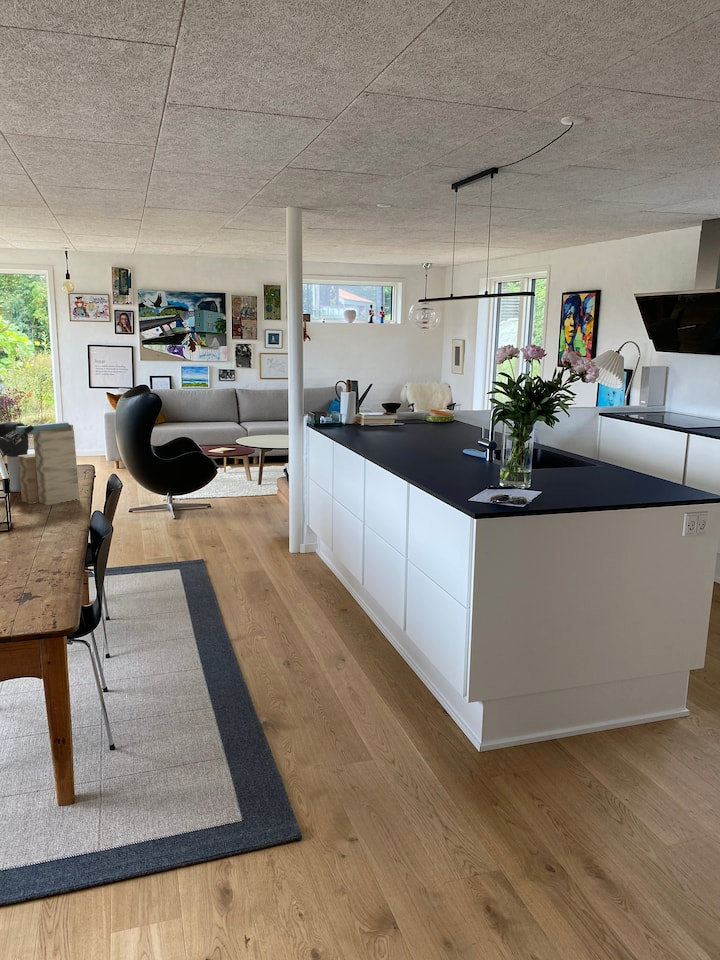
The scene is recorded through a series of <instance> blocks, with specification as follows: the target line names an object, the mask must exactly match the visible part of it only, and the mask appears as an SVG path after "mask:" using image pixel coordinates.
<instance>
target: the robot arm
mask: <svg viewBox="0 0 720 960" xmlns="http://www.w3.org/2000/svg"><path fill="white" fill-rule="evenodd" d="M31 425H32V424H31ZM31 425H30V426H29V425H28V424H25V423H23V422H17V421H16V422H15V421H6V422H1V423H0V453H1V455H2V458H1V459H3V458H5V457H6V465H7V473H9V475H8V480H9V479H10V485H9V490H10V489H11V491H10V492H11V493H14V492H15V493H19V492H21V485H20V474H19V464H18V456H19V455H27V454H28V451H29V448H30V446H29V435H27V434H28V433H29V432H31V431H32V430H34V428H33V427H32V426H31ZM18 426H28V427H27V428H26V429H24V430H22V431H21V432H17V431H16V427H18ZM23 434H24V435H23Z"/></svg>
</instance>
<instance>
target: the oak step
mask: <svg viewBox="0 0 720 960" xmlns="http://www.w3.org/2000/svg"><path fill="white" fill-rule="evenodd" d="M18 464H19V474H20V485H21V495H20V496H21V501H22V502H25V503H27V504H30V505H31V504H35V503H39V494H38V483H37V472H36V461H35V453H27V455H19V456H18Z"/></svg>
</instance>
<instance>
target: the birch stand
mask: <svg viewBox="0 0 720 960" xmlns="http://www.w3.org/2000/svg"><path fill="white" fill-rule="evenodd" d="M32 436H33V437H32V438H33V445H34V446H33V448H34V454H35V461H36V472H37V483H38V494H39V502H38V503H40V504H43V505H45V506H51V505H57V504H62V503H61V502H63V503H67V502H66V501H69V502H71V501H70V500H74V499H79V500H80V490H79V479H78V477H79V476H78V467H77V466H78V465H77V454H76V453H77V452H76V439H75V430H74V424H69V428H62V429H53V430H43V431H39V434H32ZM74 501H75V500H74Z"/></svg>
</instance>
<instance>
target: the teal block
mask: <svg viewBox="0 0 720 960" xmlns="http://www.w3.org/2000/svg"><path fill="white" fill-rule="evenodd" d="M28 426H30V425H28ZM28 426H18V427H16V431H17V432H21V431H22V430H24V429H26V428H27V427H28ZM31 426H32V427H33V428H34V430H32V431H31V432H29V433H28V434H27V435H28V436H29V435H33V434H39V431H43V430H53V429H62V428H69V422H68V421H67V422H66V421H62V422H51V423H41V424H33V425H32V424H31ZM23 435H24V434H23Z"/></svg>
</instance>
